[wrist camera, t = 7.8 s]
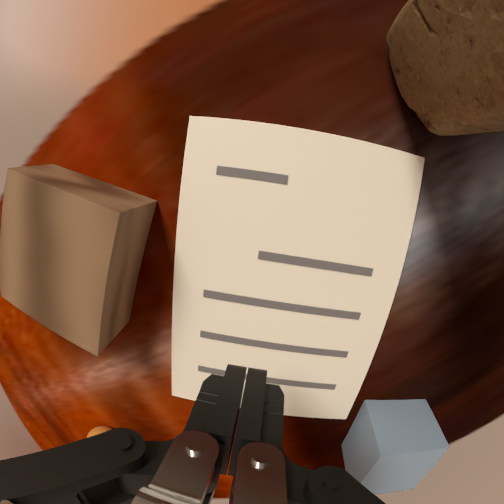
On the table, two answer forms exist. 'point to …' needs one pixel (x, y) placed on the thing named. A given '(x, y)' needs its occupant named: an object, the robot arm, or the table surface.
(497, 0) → the block
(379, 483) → the slate cube
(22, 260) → the walnut block
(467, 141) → the table surface
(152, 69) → the table surface
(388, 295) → the letter
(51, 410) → the table surface
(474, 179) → the table surface
